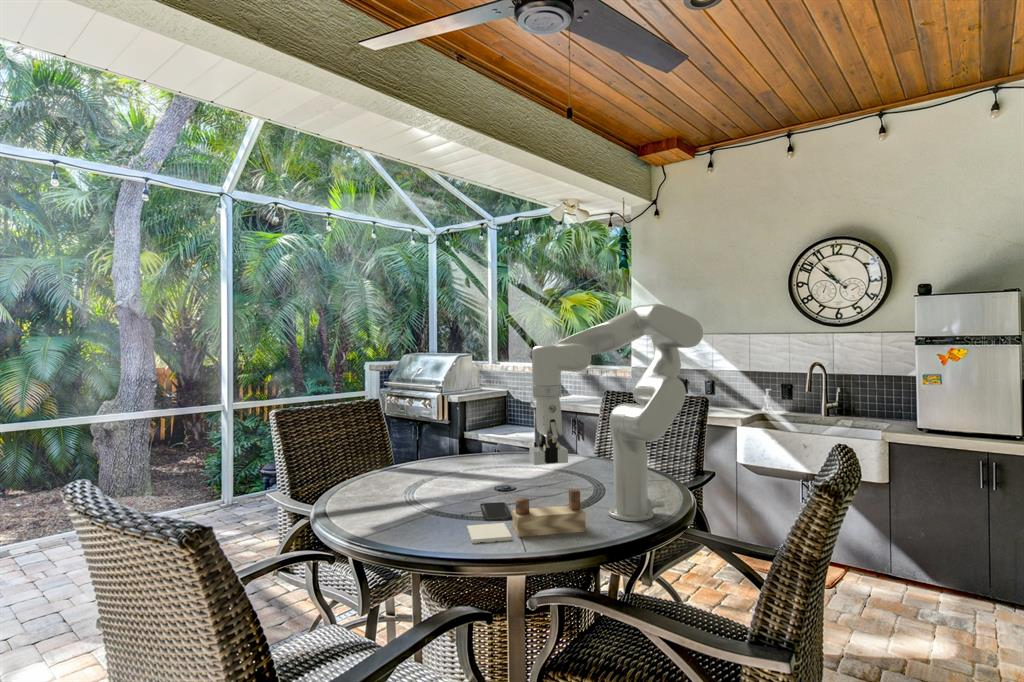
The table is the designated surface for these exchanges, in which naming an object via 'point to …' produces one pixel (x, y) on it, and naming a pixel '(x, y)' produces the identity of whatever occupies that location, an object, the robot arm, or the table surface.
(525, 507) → the body
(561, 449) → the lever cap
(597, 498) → the table surface
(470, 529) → the felt mat
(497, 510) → the phone
